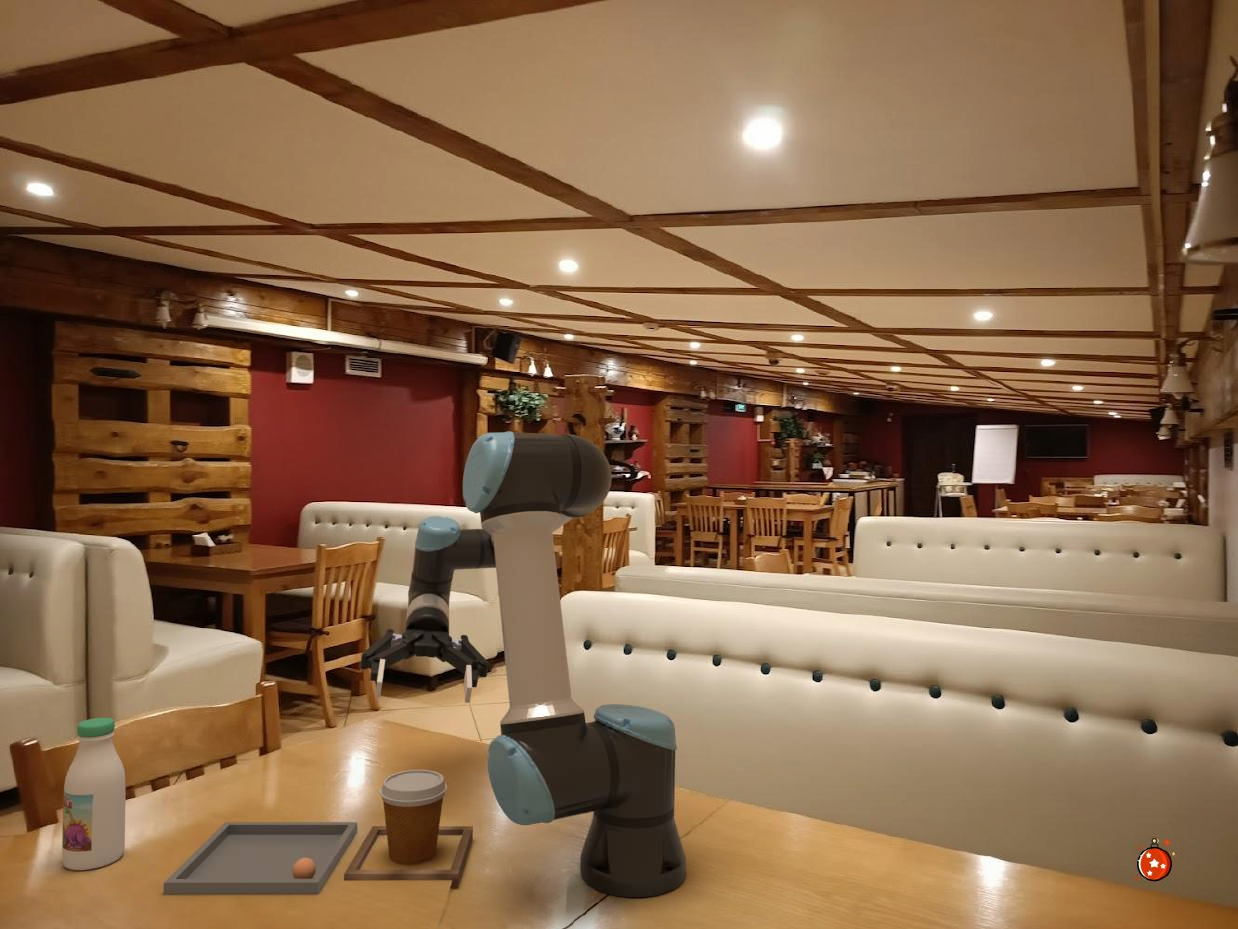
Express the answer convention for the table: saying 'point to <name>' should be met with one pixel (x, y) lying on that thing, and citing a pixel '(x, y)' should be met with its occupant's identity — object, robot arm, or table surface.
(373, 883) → the table surface
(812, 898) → the table surface
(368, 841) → the frame
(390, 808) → the disposable coffee cup
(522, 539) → the robot arm
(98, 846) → the milk bottle
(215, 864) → the tray
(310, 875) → the ball
